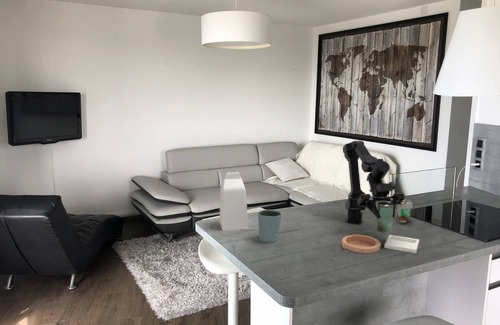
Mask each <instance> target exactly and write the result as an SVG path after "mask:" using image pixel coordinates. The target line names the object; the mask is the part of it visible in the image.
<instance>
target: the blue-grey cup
mask: <svg viewBox="0 0 500 325" xmlns="http://www.w3.org/2000/svg"><path fill="white" fill-rule="evenodd" d="M257 219H258V221H257V222H258V234H259V235H258V239H259V241H260V242H262V243H265V244H266V243H267V244H271V243H276V242H278V241H279V238H280V228H281V220H282V212H281V211H278V210H276V209H275V210H274V209H262V210H259V211H258V212H257Z"/></svg>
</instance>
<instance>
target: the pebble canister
mask: <svg viewBox="0 0 500 325" xmlns="http://www.w3.org/2000/svg"><path fill="white" fill-rule="evenodd" d="M393 206H394V204H392V203H389V202H388V201H378V203H377V210H378V213H379V219H378V218H377V217H376V227H375V228H376V229H375V230H376V231H378V232H380V233H387V234H388V233H391V232H392V231H393V219H394V218H393Z"/></svg>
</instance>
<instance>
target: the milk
mask: <svg viewBox="0 0 500 325" xmlns="http://www.w3.org/2000/svg"><path fill="white" fill-rule="evenodd" d="M219 188H220V190H219V192H220V195H219V224H220V227H221V229H222V231H223V232H224V231H225V232H226V231H237V230H239V231H241V230H249V222H248V220H249V219H248V204H247V203H248V202H247V190H246V186H245V184H244V180H243V178H242V176H241V173H240V172H237V171H236V172H226V174H225V176H224V178H223V179H222V182H221V184H220V187H219Z"/></svg>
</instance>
